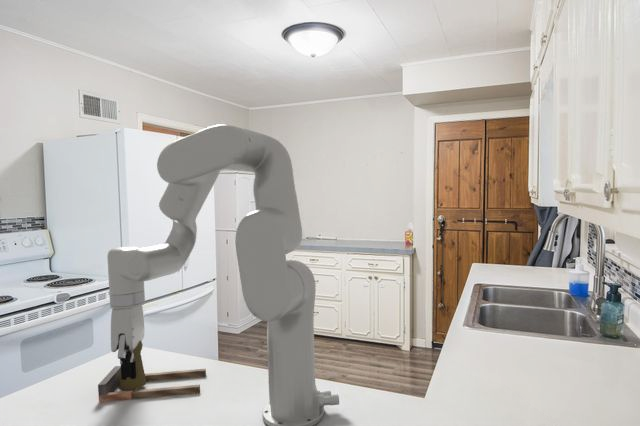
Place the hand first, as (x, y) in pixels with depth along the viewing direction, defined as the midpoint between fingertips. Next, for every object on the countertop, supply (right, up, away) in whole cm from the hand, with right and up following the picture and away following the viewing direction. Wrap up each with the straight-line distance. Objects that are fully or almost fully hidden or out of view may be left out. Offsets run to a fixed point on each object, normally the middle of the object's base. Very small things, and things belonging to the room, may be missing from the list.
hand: (131, 374), depth 98 cm
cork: (0, -3, +1) cm, 3 cm away
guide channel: (+5, -3, +1) cm, 6 cm away
